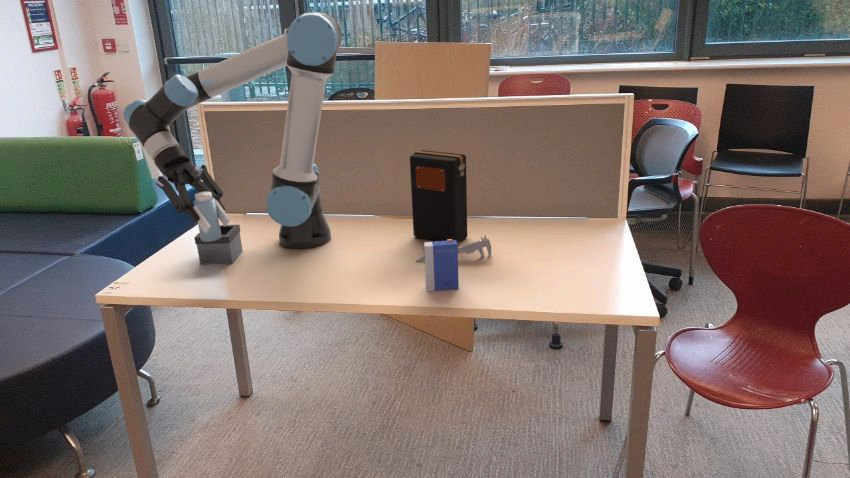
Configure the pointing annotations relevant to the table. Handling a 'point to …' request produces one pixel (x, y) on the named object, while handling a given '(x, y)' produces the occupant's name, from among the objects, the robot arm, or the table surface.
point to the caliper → (471, 248)
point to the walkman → (441, 265)
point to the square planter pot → (220, 246)
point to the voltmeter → (439, 195)
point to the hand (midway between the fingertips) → (217, 226)
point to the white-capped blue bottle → (208, 216)
